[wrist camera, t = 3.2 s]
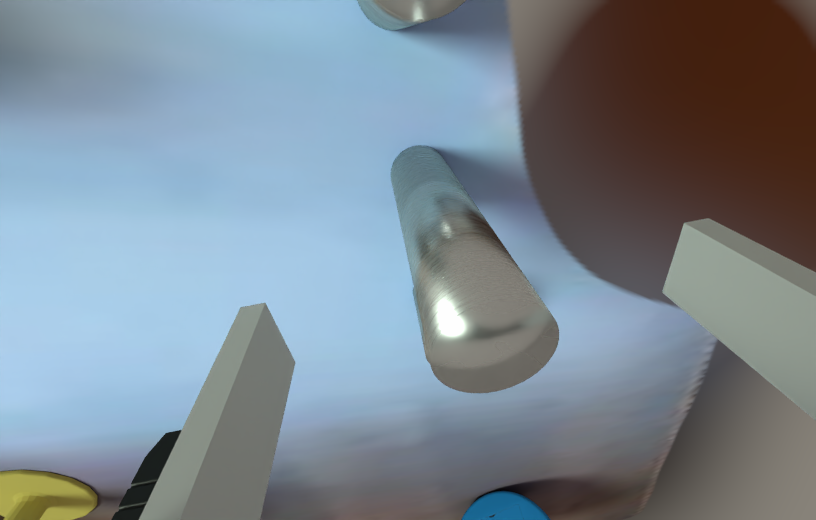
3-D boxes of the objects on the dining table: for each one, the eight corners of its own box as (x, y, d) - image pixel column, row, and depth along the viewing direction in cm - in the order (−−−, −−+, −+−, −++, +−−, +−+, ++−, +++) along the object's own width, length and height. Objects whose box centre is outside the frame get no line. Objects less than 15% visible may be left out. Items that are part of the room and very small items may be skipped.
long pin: (396, 205, 21) (437, 403, 10) (385, 151, 20) (421, 316, 8) (449, 195, 21) (553, 379, 10) (443, 140, 20) (565, 288, 8)
